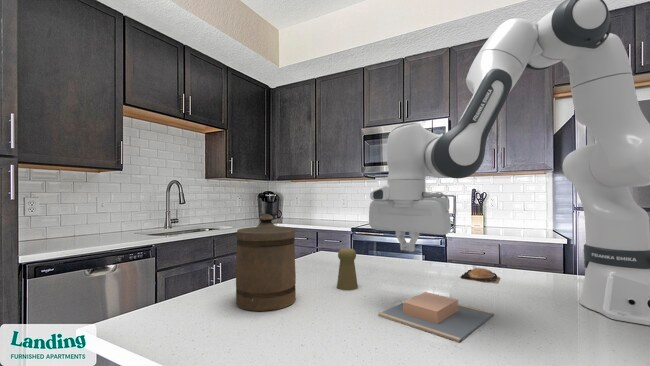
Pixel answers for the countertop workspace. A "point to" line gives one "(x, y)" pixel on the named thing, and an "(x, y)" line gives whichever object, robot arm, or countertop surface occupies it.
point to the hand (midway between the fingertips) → (407, 250)
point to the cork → (347, 270)
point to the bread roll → (481, 275)
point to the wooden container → (265, 266)
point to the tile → (430, 307)
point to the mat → (450, 327)
